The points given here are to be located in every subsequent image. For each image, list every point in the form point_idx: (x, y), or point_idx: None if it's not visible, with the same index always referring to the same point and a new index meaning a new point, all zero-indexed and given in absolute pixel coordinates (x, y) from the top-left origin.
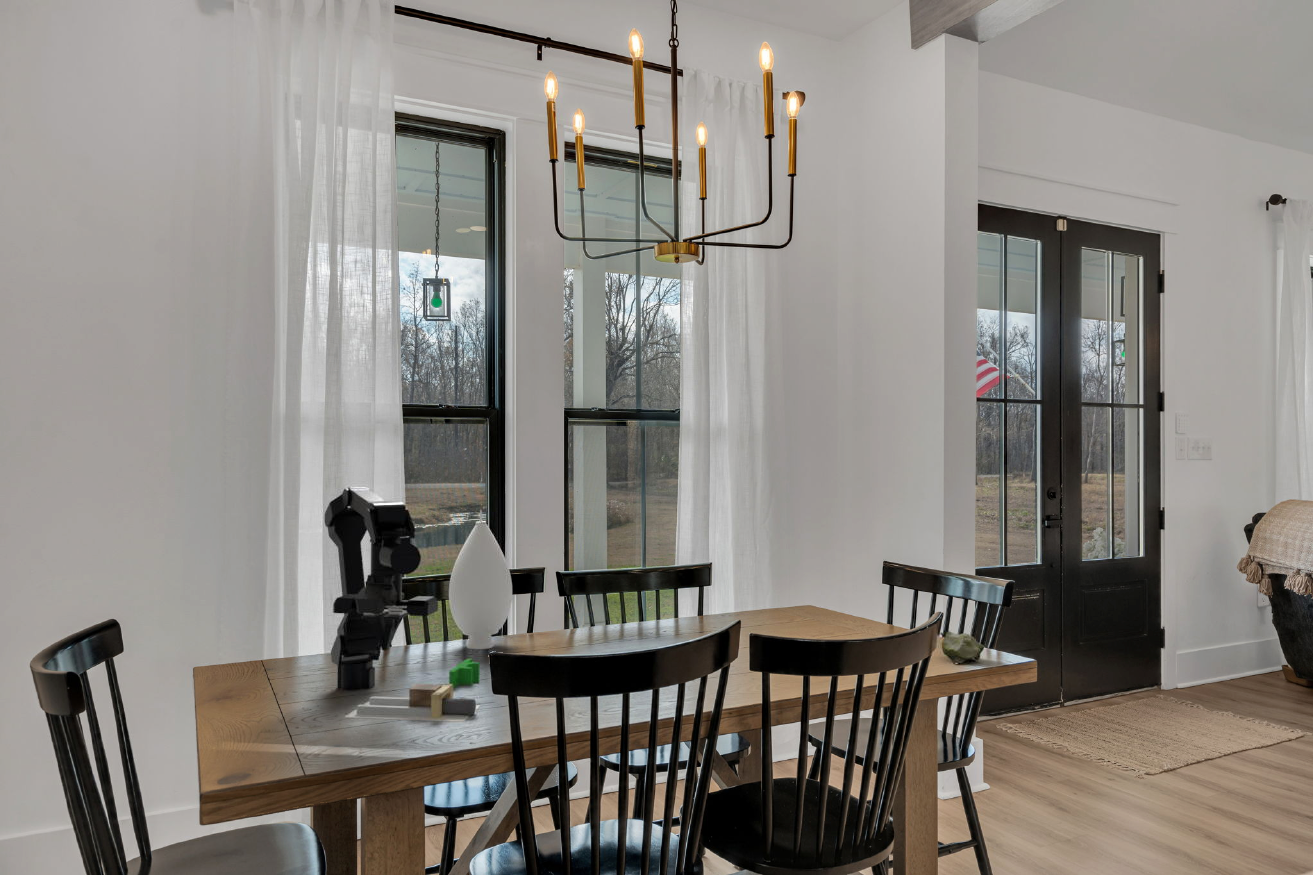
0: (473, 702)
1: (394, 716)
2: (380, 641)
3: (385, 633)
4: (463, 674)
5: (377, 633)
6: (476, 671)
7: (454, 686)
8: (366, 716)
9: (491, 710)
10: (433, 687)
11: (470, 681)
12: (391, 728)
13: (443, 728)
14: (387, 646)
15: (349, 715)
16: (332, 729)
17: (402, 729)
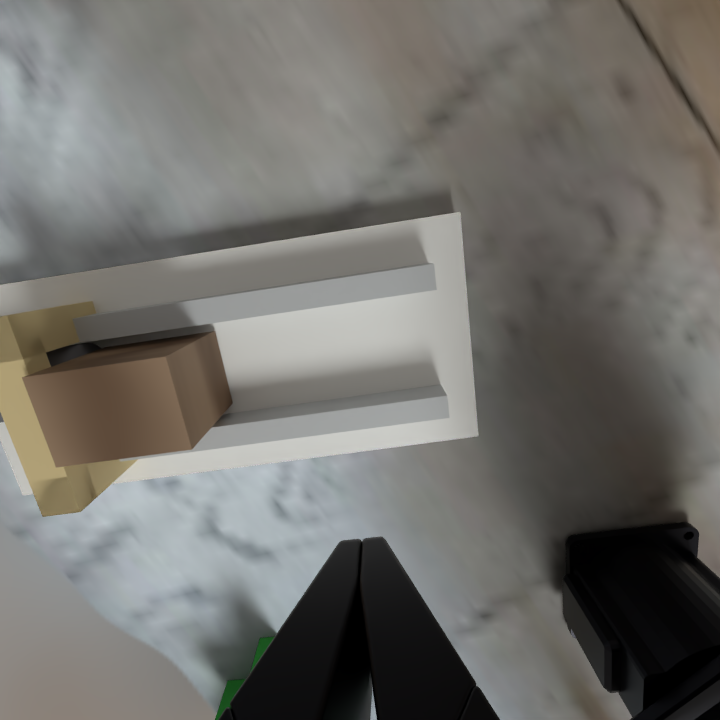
0: None
1: (251, 279)
2: (398, 594)
3: (299, 711)
4: None
5: (455, 693)
6: None
7: (254, 660)
8: (367, 244)
9: (6, 497)
10: (63, 414)
11: (220, 709)
12: (218, 198)
13: (23, 258)
14: (323, 571)
15: (450, 237)
16: (453, 109)
17: (167, 199)
